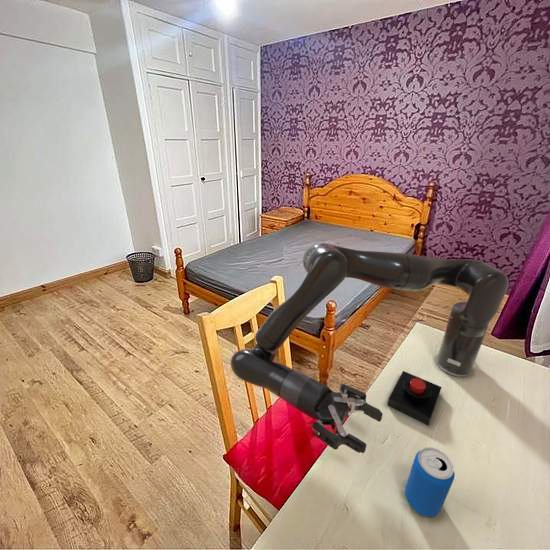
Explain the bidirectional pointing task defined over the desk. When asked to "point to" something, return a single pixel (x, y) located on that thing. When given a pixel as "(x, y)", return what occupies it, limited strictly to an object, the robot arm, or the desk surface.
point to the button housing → (414, 398)
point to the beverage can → (429, 481)
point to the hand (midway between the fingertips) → (373, 432)
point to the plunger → (417, 386)
